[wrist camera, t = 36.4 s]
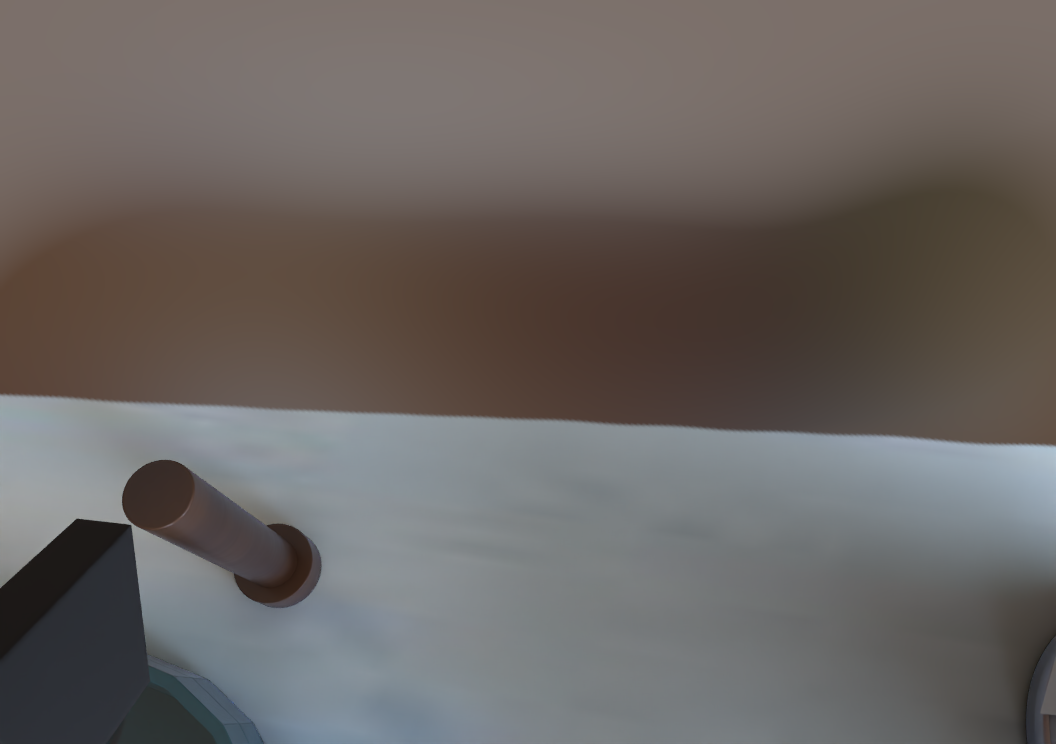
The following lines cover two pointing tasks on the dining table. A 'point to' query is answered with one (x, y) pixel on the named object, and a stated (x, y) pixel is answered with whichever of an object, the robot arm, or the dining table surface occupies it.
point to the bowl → (183, 712)
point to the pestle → (222, 533)
